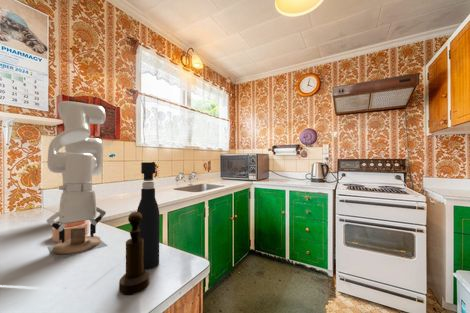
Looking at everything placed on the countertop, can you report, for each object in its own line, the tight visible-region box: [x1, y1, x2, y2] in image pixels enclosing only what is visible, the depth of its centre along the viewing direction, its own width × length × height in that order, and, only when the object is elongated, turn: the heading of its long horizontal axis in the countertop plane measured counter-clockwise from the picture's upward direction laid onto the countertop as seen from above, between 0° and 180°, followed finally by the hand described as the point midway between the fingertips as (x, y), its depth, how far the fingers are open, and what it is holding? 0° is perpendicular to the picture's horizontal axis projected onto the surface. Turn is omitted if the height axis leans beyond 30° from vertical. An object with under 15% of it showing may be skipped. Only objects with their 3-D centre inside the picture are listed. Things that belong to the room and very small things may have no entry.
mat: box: [47, 239, 108, 261], centre depth 70 cm, size 14×14×1 cm
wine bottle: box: [136, 161, 161, 271], centre depth 59 cm, size 6×6×30 cm
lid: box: [53, 227, 101, 255], centre depth 70 cm, size 13×13×6 cm
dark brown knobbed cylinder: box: [118, 211, 150, 296], centre depth 49 cm, size 7×6×18 cm
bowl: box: [51, 220, 90, 243], centre depth 80 cm, size 11×11×5 cm
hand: (77, 238), depth 70 cm, fingers open, 7 cm apart
